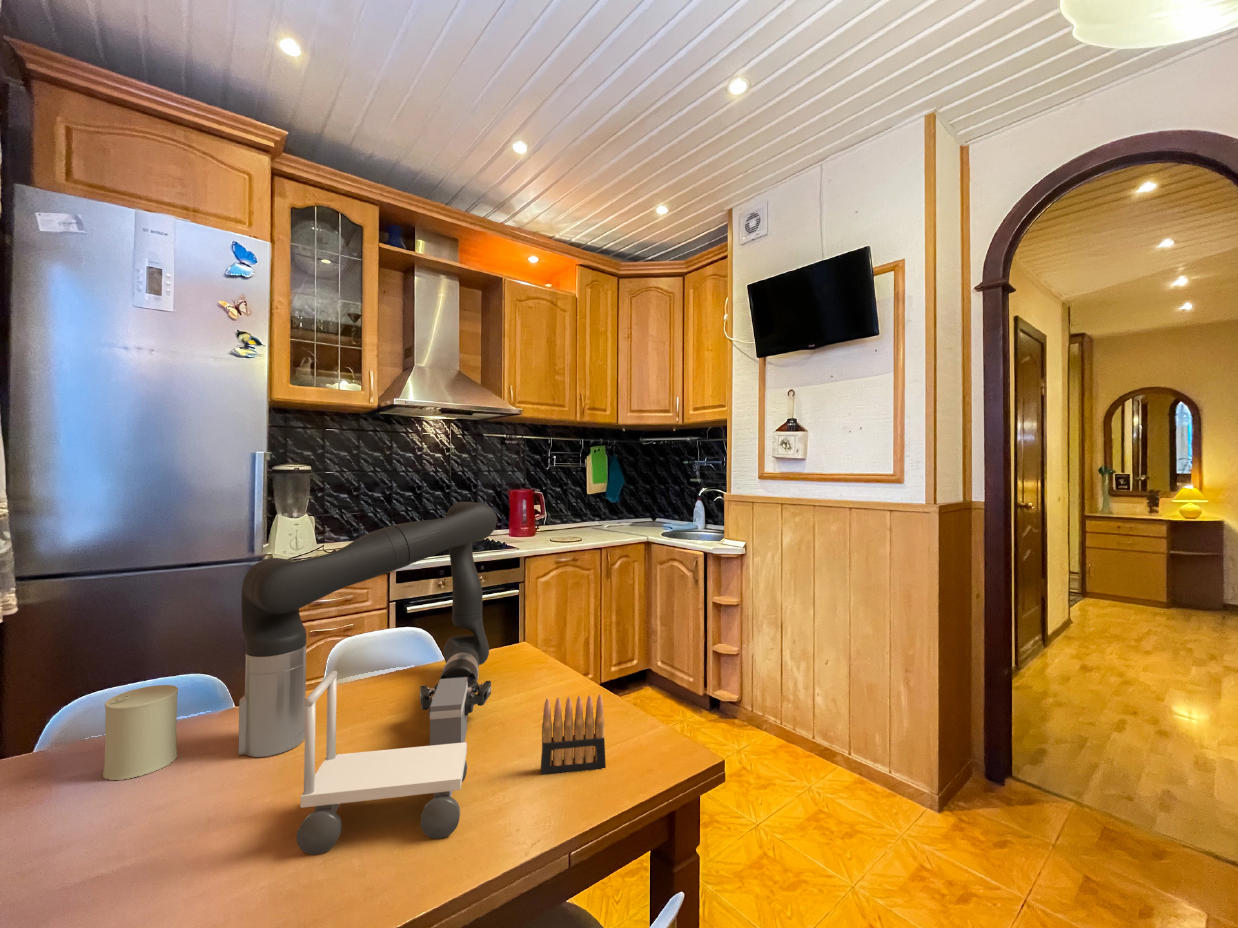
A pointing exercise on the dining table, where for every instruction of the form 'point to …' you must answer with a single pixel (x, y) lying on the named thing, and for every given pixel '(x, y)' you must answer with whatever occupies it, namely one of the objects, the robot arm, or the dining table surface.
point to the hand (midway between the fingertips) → (450, 711)
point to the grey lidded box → (449, 712)
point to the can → (140, 731)
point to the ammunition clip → (573, 738)
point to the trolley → (374, 779)
